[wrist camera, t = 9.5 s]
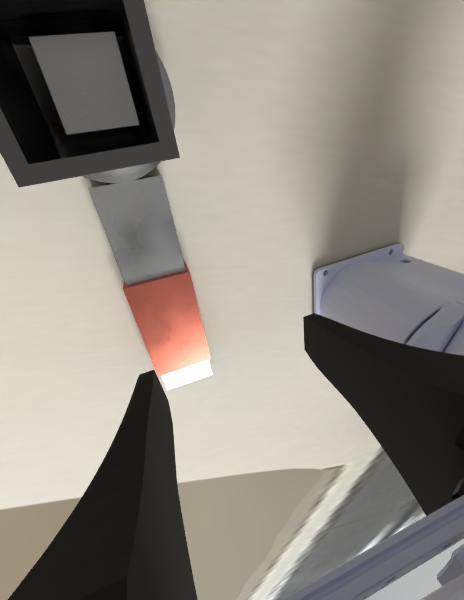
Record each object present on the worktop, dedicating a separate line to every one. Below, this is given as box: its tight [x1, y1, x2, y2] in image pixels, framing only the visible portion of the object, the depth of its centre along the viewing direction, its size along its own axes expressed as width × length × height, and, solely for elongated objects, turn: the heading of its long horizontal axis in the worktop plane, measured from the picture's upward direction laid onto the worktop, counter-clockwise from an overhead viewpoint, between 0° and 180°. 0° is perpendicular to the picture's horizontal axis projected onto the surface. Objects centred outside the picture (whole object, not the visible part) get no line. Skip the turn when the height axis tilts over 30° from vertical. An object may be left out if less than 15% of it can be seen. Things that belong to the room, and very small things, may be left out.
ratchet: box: [13, 32, 212, 390], centre depth 16 cm, size 7×23×5 cm, turn 8°
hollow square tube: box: [0, 0, 180, 187], centre depth 10 cm, size 6×6×5 cm
